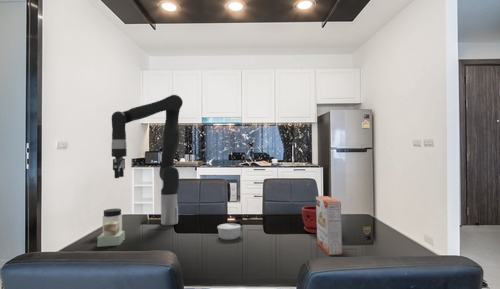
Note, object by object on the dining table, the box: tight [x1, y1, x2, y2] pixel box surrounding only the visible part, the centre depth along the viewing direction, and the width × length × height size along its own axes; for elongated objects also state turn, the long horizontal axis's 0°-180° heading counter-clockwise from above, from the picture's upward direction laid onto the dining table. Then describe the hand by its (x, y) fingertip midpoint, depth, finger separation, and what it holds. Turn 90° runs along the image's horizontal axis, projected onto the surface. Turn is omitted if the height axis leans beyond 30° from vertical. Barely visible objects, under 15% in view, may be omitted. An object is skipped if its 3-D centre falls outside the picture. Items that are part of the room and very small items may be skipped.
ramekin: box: [216, 222, 242, 241], centre depth 136 cm, size 11×11×5 cm
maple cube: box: [104, 221, 119, 236], centre depth 129 cm, size 5×5×5 cm
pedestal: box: [96, 230, 126, 248], centre depth 129 cm, size 9×9×4 cm
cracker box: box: [315, 195, 343, 256], centre depth 117 cm, size 14×6×21 cm, turn 5°
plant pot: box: [301, 205, 317, 234], centre depth 144 cm, size 13×13×12 cm
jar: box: [102, 208, 123, 234], centre depth 145 cm, size 9×8×12 cm
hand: (119, 177), depth 155 cm, fingers open, 8 cm apart
